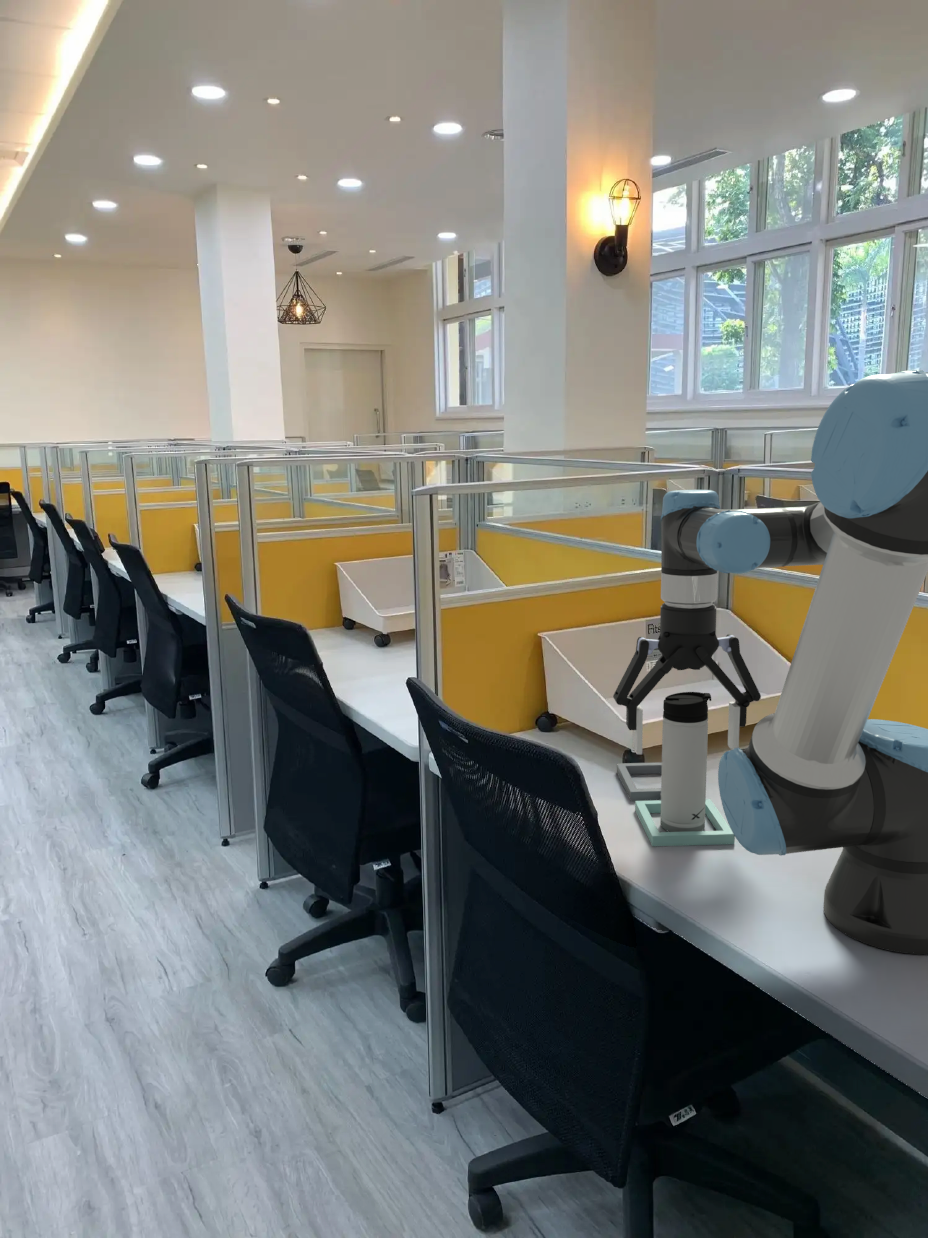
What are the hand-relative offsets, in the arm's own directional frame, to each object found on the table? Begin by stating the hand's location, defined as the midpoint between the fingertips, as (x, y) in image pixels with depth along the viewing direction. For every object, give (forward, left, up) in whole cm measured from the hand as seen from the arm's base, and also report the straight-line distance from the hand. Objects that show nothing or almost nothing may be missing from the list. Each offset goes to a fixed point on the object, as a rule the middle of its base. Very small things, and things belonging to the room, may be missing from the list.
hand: (685, 750), depth 132 cm
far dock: (+15, 0, -12) cm, 19 cm away
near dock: (0, 0, -12) cm, 12 cm away
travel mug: (0, 0, -12) cm, 12 cm away
